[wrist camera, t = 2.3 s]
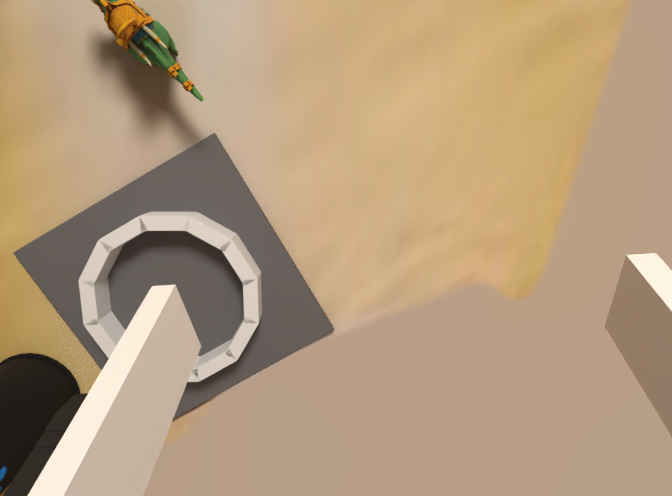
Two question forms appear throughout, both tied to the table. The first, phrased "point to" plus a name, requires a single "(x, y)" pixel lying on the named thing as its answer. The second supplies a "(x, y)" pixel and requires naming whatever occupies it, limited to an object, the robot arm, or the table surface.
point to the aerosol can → (28, 406)
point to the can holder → (182, 270)
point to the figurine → (143, 38)
